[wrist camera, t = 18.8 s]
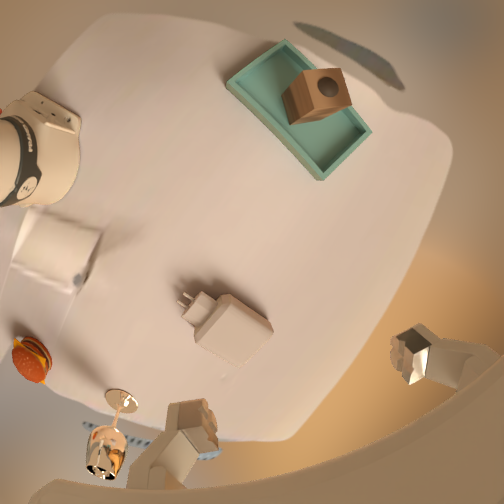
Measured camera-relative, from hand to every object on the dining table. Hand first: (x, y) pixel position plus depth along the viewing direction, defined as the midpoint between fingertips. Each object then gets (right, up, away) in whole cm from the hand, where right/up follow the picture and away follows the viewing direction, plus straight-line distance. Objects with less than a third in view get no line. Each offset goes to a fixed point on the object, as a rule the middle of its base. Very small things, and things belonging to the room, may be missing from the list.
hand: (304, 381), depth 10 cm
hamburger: (-49, -17, +33) cm, 62 cm away
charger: (-8, -5, +36) cm, 37 cm away
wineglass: (-30, -27, +38) cm, 56 cm away
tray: (+5, +27, +28) cm, 39 cm away
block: (+5, +27, +27) cm, 39 cm away
